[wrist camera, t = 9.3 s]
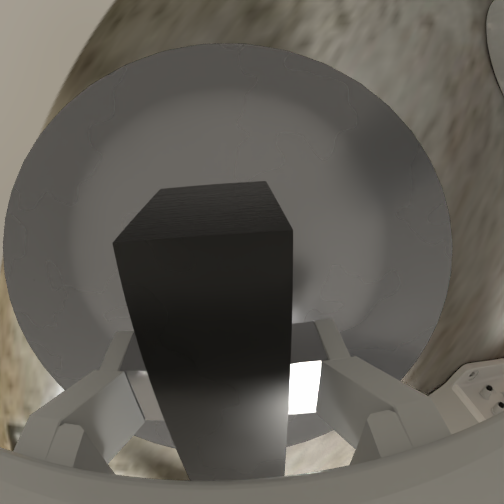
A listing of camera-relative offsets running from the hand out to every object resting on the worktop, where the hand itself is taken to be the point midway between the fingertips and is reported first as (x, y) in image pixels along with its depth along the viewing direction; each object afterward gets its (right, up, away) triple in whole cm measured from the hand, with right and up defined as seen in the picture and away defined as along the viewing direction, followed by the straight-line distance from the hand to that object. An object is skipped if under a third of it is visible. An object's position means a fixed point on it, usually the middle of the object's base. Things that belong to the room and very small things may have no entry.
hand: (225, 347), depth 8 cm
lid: (0, +1, +3) cm, 3 cm away
